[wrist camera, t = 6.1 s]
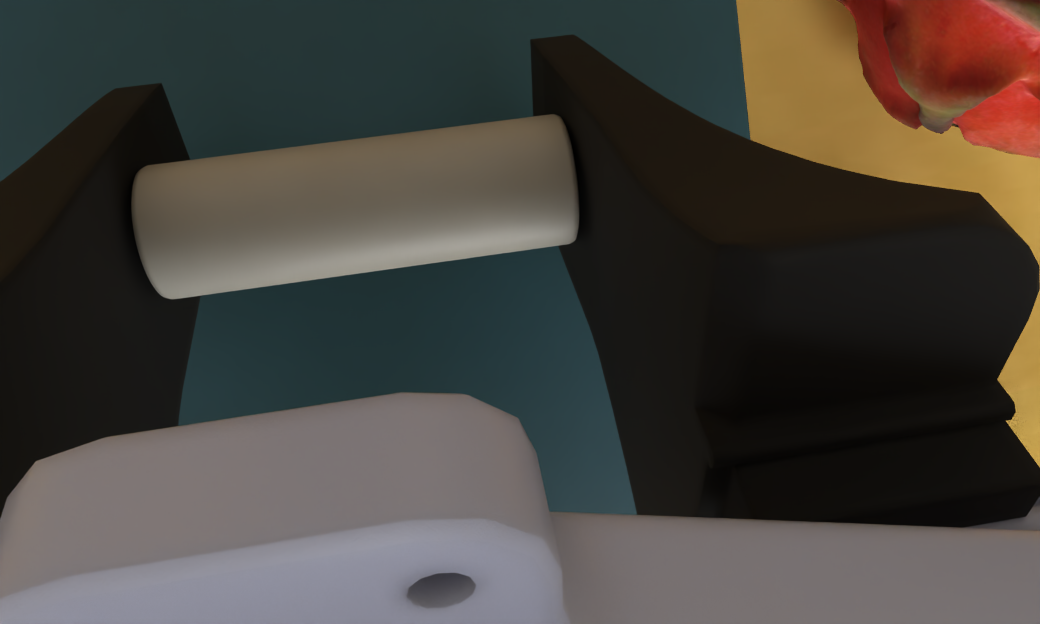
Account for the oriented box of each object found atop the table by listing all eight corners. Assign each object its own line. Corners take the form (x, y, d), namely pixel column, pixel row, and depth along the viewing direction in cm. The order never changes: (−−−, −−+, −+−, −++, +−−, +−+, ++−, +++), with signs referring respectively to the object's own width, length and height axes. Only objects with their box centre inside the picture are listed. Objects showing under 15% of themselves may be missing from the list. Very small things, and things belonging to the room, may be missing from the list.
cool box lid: (772, 493, 16) (926, 614, 11) (75, 610, 15) (-105, 803, 10) (695, -247, 14) (831, -494, 9) (-85, -176, 13) (-389, -410, 8)
